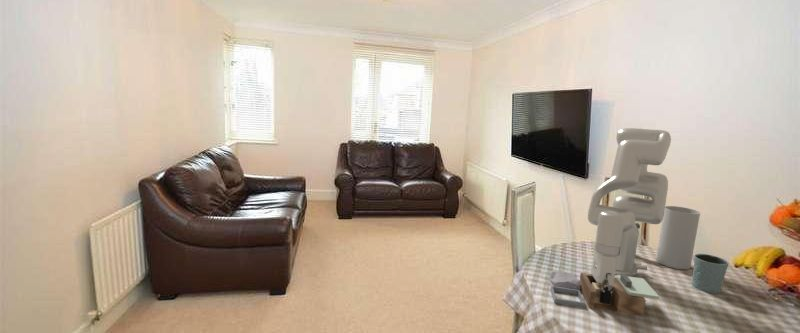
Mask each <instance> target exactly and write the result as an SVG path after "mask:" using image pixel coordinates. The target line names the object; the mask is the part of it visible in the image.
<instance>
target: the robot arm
mask: <svg viewBox="0 0 800 333" xmlns="http://www.w3.org/2000/svg"><path fill="white" fill-rule="evenodd" d="M671 137H672V136H671V134H670V132H668V131H667V130H661V129H650V128H649V129H648V128H636V127H635V128H632V127H628V128H627V127H626V128H625V127H624V128H621V129H619V130H618V131H617V132H616V143H617V145H618V146H617V150H616V153H615V157H614V162H613V166H612V170H611V176H610V177H609V179H607V180H605V181H604V182H603V183H601V184H600V185H599V186H598V187H597V188H596V189H595V191H594V192H593V194H592V196H591V200H590V203H589V207H588V212H587V219H588V222H589V223H590V224H591V225H593V226H597V227H596V233H595V234H596V236H595V242H594V248H593V250H594V255H593V260H592V263H591V264H592V266H591V270H590V272H591V273H590V274H592V275H593V282H594V283H598V284H600V283H601V285H602V291H600V298H599V302H600V303H604V304H610V302H611V295H612V289H613V284H614V280H615V278H616V275H621V274H626V275H627V276H629V277H635V276H637V275H638V270H642V271H647V270H648V265H645V264H642V263H640V262H636V261H635V260H636V255H637V248H638V241H639V240H638V239H639V235H640V234H639V232H640V231H639V229H638V228H637V226H636V225H635V223H636V222H637V223H643V224H644V223H645V224H650V225H659V224H662V220H663V216H664V211H665V206H666V203H667V198H668V197H667V196H668V190H669V189H668V188H669V180H668V176H666V175H665V174H663V173H659V172H651V171H648V165H650V166H661V165H662V164H663V163H664V161H665V159H666V156H667V153H668V152H669V148H670V146H671V142H672V138H671ZM618 190H621V191H623V192H624V193H627V194H632V195H638V196H644V197H649V198H651V199H648V198H644V197H638V196H631V195H618V196H617V197H615V198H614V200H613V202H612V206H609V205H604V204H601V201H602V199H603V198H604V197H605V196H606V195H607V194H609V193H612V192H615V191H618ZM604 281H605V282H604ZM606 282H607V283H606ZM604 285H607V286H606V287H605V288H604Z"/></svg>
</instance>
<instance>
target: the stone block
mask: <svg viewBox="0 0 800 333" xmlns="http://www.w3.org/2000/svg"><path fill="white" fill-rule="evenodd" d="M550 283H551V284H552V286H554V287H561V288H568V289H574V290H579V291H580V292H581V283H580V278H578V275H577V274H576V273H570V272H566V271H563V270H562V271H561V270H560V271H552V272H551V273H550Z"/></svg>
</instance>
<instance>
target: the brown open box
mask: <svg viewBox="0 0 800 333" xmlns="http://www.w3.org/2000/svg"><path fill="white" fill-rule="evenodd" d="M579 281H580V283H581V290H580V293H581V295H582V297H583V299H584V301H585V304H586V305H587V307H588V308H590V309H595V310H596V309H597V310H603V311H610V312H616V313H621V314H627V315H634V316H639V317H643V316H644V315H645V314H644V313H645V307H646V301H647V300H646V298H645V297H639V296H632V295H629V294H628V293H627V291H626V290H625V289H624V287H623V286H622V285H621V283H620V282H619V280H618V279H617V278H616V277H615V280H614V284H613V289H612V296H611V303H610V305H606V304H600V303H594V302H595V295H596V292H595V290H594V288H593V286H592V282H593V275H592V273H585V272H580V274H579ZM604 282H605V281H604ZM606 283H607V282H606Z"/></svg>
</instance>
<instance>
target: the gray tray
mask: <svg viewBox="0 0 800 333" xmlns="http://www.w3.org/2000/svg"><path fill="white" fill-rule="evenodd" d="M549 288H550V289H549V290H550V291H549V292H550V293H551V297H552V300H553V303H554V304H560V305H566V306H571V307H572V306H573V307H577V308H584V309H585V308H586V301H585V299H584V297H583V295H582V293H581V290H580V291H579V290H574V289H568V288H561V287H554V285H550V287H549ZM555 292H556V293H564V294H570V295H577V297H578V300H579V301H577V300H572V299H571V300H570V299H564V298H559V297H558V298H557V297H556V294H555Z"/></svg>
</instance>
